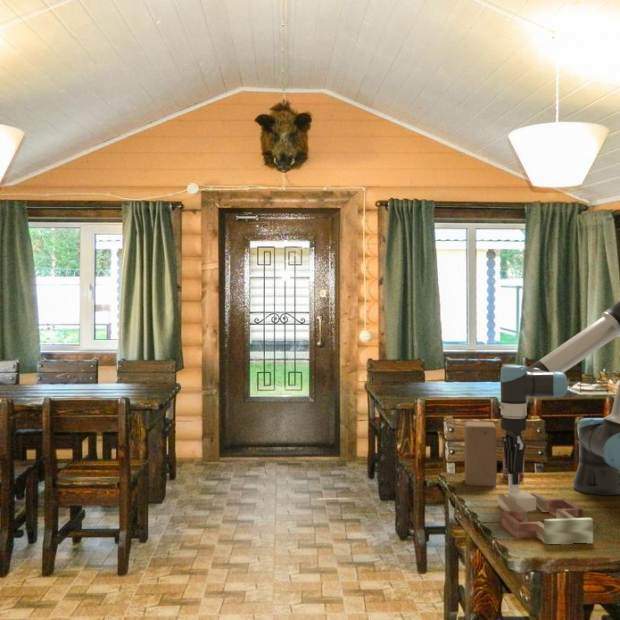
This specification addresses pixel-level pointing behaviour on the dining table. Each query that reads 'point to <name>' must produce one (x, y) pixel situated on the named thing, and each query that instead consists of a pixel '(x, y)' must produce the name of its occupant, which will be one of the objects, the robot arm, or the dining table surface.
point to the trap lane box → (547, 521)
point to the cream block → (523, 500)
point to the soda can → (505, 471)
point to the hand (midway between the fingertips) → (513, 494)
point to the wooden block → (480, 454)
